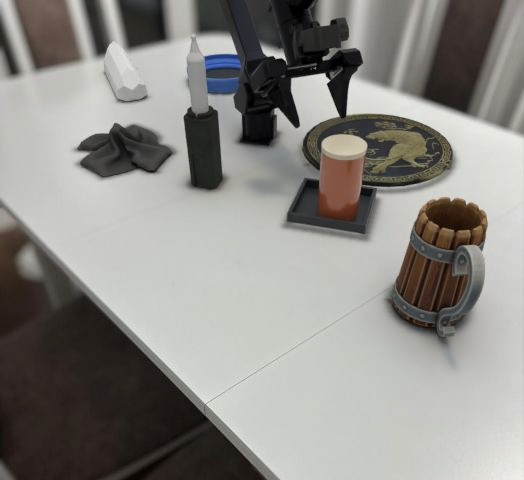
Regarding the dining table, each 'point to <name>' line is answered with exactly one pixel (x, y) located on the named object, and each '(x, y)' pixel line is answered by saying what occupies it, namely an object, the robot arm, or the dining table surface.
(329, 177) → the cup
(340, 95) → the robot arm
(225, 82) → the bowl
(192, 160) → the candle
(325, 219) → the dark gray rectangular tray
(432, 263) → the mug
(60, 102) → the dining table surface
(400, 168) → the decorative plate
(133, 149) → the cloth
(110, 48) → the crystal
